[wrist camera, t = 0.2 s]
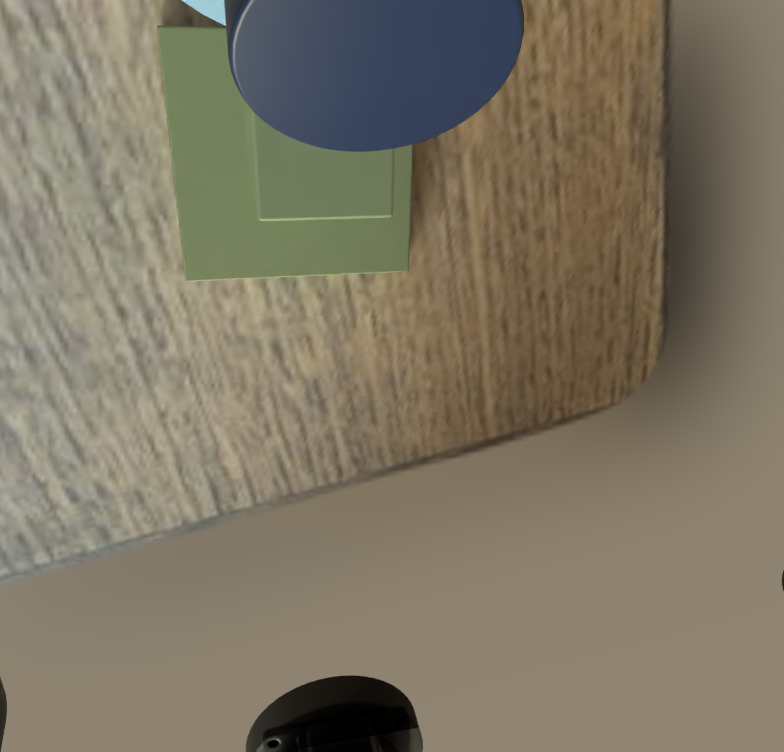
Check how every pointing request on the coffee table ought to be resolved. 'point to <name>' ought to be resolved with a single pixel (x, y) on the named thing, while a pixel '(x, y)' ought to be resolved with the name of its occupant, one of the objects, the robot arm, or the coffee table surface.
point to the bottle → (367, 65)
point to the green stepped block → (271, 181)
